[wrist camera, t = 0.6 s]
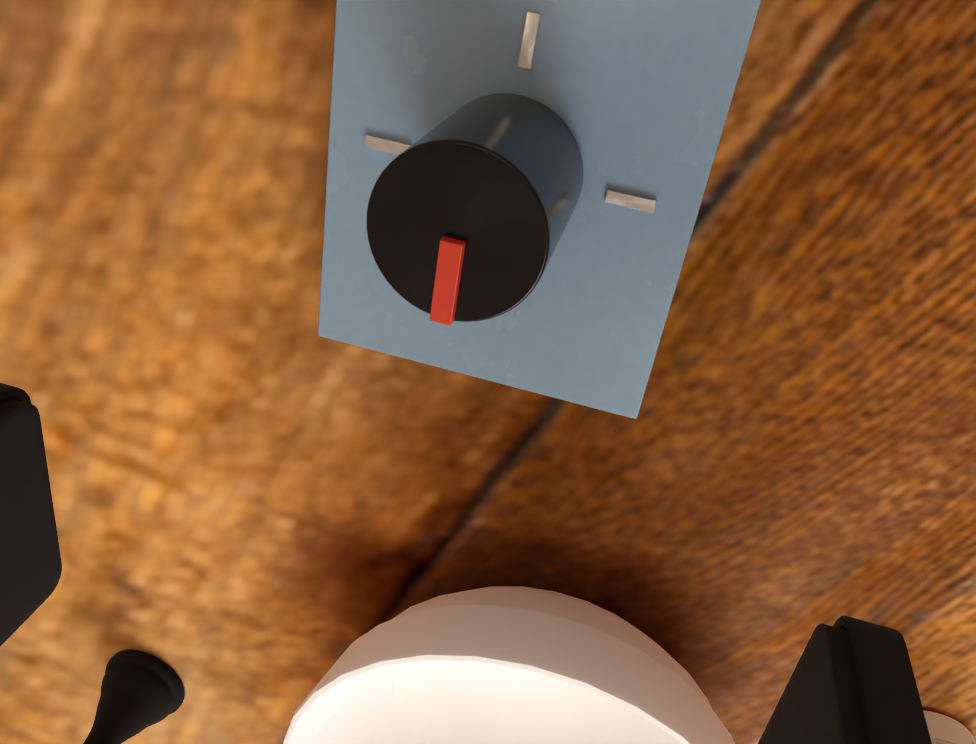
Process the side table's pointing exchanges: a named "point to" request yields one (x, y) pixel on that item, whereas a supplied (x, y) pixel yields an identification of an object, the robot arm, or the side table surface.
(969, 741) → the pill bottle
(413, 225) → the dial knob
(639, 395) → the dial base
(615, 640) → the bowl
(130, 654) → the chess piece
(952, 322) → the side table surface
